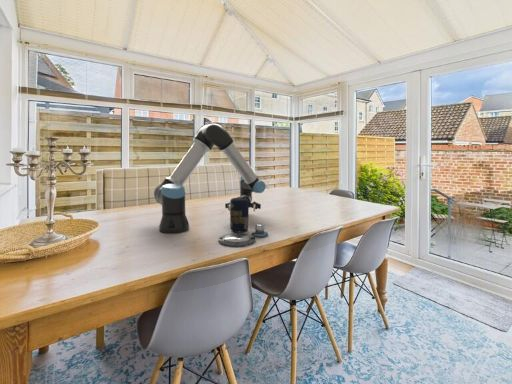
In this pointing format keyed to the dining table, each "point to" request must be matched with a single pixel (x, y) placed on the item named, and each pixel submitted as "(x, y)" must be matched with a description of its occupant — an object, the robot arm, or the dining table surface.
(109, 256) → the dining table surface
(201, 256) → the dining table surface
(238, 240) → the flange wide
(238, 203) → the canister
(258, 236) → the flange small
